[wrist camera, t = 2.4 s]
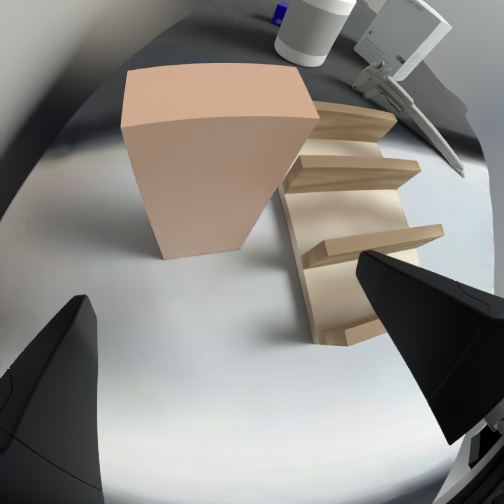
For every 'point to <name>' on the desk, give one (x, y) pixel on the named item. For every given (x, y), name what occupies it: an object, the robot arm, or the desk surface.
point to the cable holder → (279, 13)
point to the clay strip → (212, 147)
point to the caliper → (405, 107)
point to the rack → (346, 218)
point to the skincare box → (402, 36)
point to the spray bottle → (311, 30)
